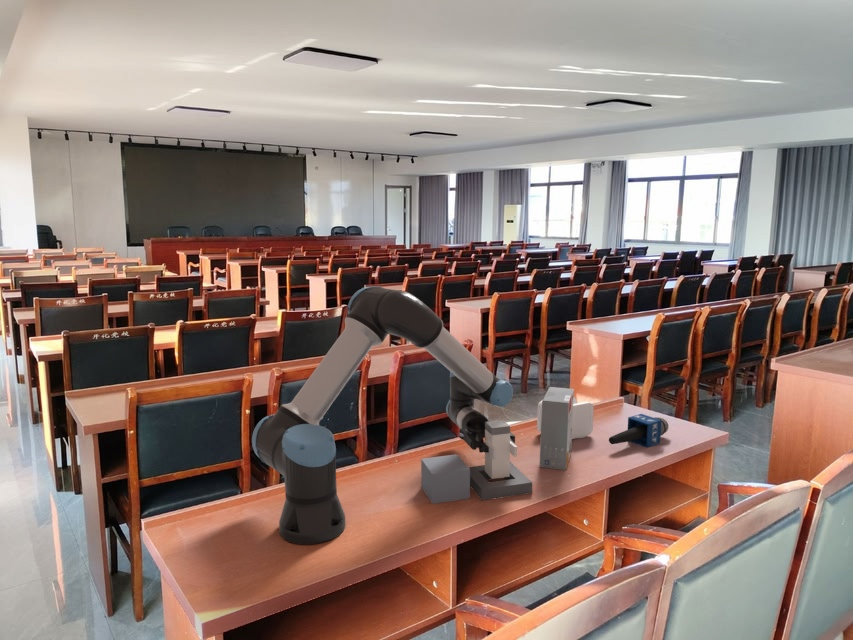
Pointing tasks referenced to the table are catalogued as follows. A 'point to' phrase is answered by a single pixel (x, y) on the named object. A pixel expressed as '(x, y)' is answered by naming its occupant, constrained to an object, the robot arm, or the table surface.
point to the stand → (445, 478)
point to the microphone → (642, 431)
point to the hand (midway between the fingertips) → (505, 453)
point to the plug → (498, 449)
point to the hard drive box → (556, 428)
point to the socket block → (499, 483)
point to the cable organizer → (575, 418)
